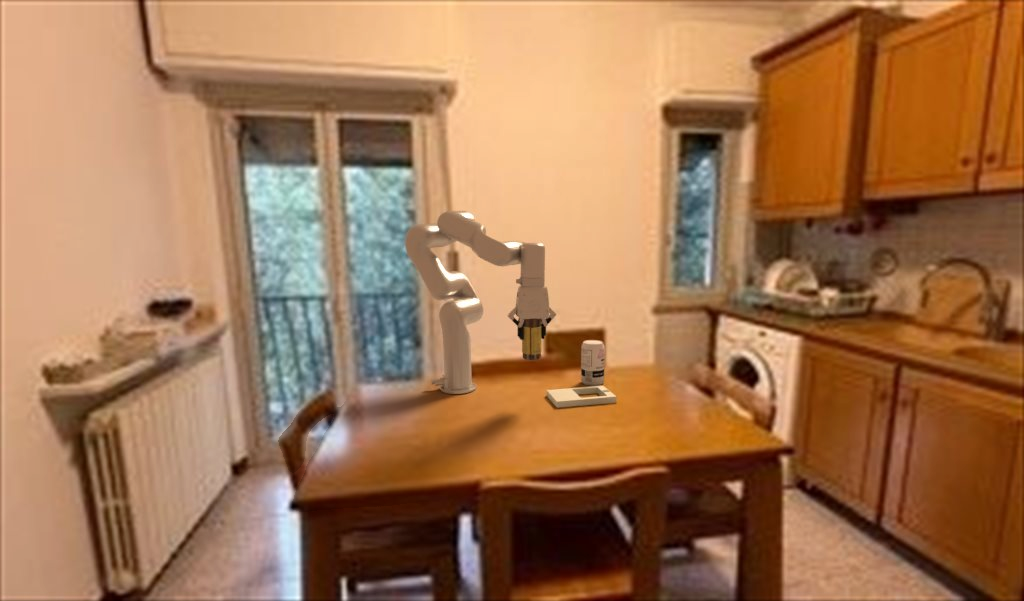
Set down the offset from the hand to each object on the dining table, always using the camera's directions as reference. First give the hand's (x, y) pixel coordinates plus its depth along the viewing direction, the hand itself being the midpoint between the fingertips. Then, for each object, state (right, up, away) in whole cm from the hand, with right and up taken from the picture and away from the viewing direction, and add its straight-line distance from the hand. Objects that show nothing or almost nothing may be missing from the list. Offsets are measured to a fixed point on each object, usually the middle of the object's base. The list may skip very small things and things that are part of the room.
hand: (531, 337), depth 179 cm
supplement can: (+23, -18, +24) cm, 38 cm away
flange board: (+16, -21, +6) cm, 27 cm away
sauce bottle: (0, -7, +1) cm, 7 cm away
